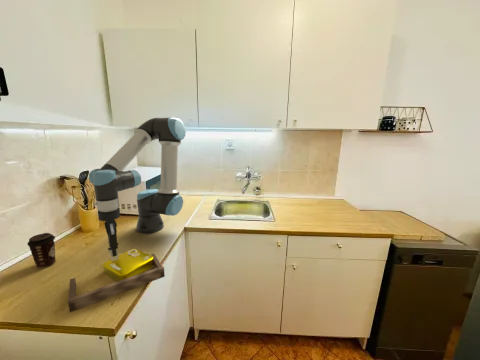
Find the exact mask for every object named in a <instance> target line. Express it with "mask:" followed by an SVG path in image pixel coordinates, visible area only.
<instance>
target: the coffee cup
mask: <svg viewBox="0 0 480 360" xmlns="http://www.w3.org/2000/svg"><path fill="white" fill-rule="evenodd" d="M54 240H56V235H53V234H52V233H50V232H44V233H39V234H36V235H33V236H31V237H30V238H29V239H28V242H27V244H26V245H27V246H28V247H29V250H30V253H31V256H32V258H33V259H32V260H33V262H34V263H35V265H36V266H35V268H36V269H45V268H48V267H51V266H52V265H54V264H55V263H56V245H55V244H56V243H55V241H54Z"/></svg>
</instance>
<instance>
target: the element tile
mask: <svg viewBox="0 0 480 360" xmlns="http://www.w3.org/2000/svg"><path fill="white" fill-rule="evenodd" d="M118 256H119V259H118V260H115V261H111V258H110V259H108V260H106V261H105V262H103V264H102V271H103V274H104V275H105V276H107V277H108V278H110V279H112V280H113V281H115V282H118V281H121V280H124V279H127V278H130V277H132V276H135V275H138V274H141V273H144V272H147V271H150V270H152V269H153V267H155V266H154V260H153V259H154V258H153V256H151V254H149V253H147V252H144V251H142V250H140V249H137V248H132V249H129V250H127V251H125V252H122V253H121V254H118Z"/></svg>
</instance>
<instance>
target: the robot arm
mask: <svg viewBox="0 0 480 360" xmlns="http://www.w3.org/2000/svg"><path fill="white" fill-rule="evenodd" d="M185 137H186V127H185V125H184V123H183V121H182V120H181V119H180V118H177V117H153V118H150V119H147V120H146V121H145V122H143V123H141V124H140V125H139V126H138V127H137V128H136V129H135V130H134V133H133V135H132V136H130V138H129V139H128V140H127V141H126V142H125V143H124V144H123V145H122V146H121V147H120V148H119V149H118V150H116V152H115V153H114V154H113V155H112V156H111V157H110V158H109V159H108V161H106V162H105V164H104V165H102V166H101V167H100V168H94V169H92V170H90V172H89V173H88V180H89V182H90V183H91V184H93V189H94V194H95V195H94V196H95V201H96V202H94V206H96V208H97V209H96V210H97V218H98V220H99V221H100V222H101V221H102V222H104V223H103V224H104V229H105V231H106V235H107V239H108V241H107V242H108V248H107V250H108V251H109V254H110V259H111V261H115V260H118V259H119V251H118V250H119V242H118V238H117V237H118V236H117V231H118V230H117V227H118V223H117V221H116V220H117V219H119V218H120V217H121V211H120V210H121V209H120V208H119V207H120V199H119V192H121V191H125V190H128V189H133V188H135V187H137V186H139V185H140V184H141V182H142V175H141V174H140V173H139V171H137V170H135V169H132V170H131V169H130V170H125V169H126V168H127V166H128V165H129V164H131V162H132V161H133V160H134V159H135V158H136V157H137V155H138V154H139V153H140V152H141V151H142V149H144V147H145V146H146V145H149V144H151V143H152V141H155V140H158V143H159V144H160V145H161V153H160V154H161V157H160V159H161V161H160V188H159V189H156V188H155V189H154V188H152V189H145V190H142V191H140V192H138V193H137V195H136V202H137V203H136V204H137V212H138V218H137V222H136V226H135V228H136V231H137V232H138V233H142V234H151V233H156V232H159V231H160V230H162V229H163V228H164V225H165V224H164V221H163V217H162V216H161V215H165V216H177V215H179V213H180V212H181V210H182V208H183V206H184V198H183V196H182V195H180V190H178V189H177V186H178V185H177V183H178V182H177V181H178V153H179V152H178V151H179V149H178V147H179V146H180V145H181V143H182V141H183V140H184V139H185ZM124 170H125V171H124Z"/></svg>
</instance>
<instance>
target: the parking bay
mask: <svg viewBox="0 0 480 360" xmlns="http://www.w3.org/2000/svg"><path fill="white" fill-rule="evenodd" d="M150 255H151V256H153V258H154V259H153V260H154V266H153V267H154V268H152V269H149V270H147V271H146V272H144V273H141V274H138V275H135V276H132V277H130V278H127V279H124V280H121V281H118V282H116V281H115V282H113V283H109V284H107V285H104V286H102V287H98V288H95V289H93V290H90V291H87V292H83V293H81V294H78V295H77V282H76V277H73V278H70V279H69V288H68V290H69V291H68V298H67V304H68V310H69V313H73V312H74V311H77V310H80V309H83V308H85V307H88V306H91V305H93V304H96V303H99V302H101V301H104V300H107V299H109V298H112V297H115V296H117V295H119V294H123V293H125V292H128V291H130V290H133V289H135V288H138V287H141V286H143V285H146V284H149V283H152V282H154V281H157V280H159V279H161V278H165V266H164V265H162V264H161V263H160V260H159V259H158V257H157V256H156V254H155V253H151V254H150Z"/></svg>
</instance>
